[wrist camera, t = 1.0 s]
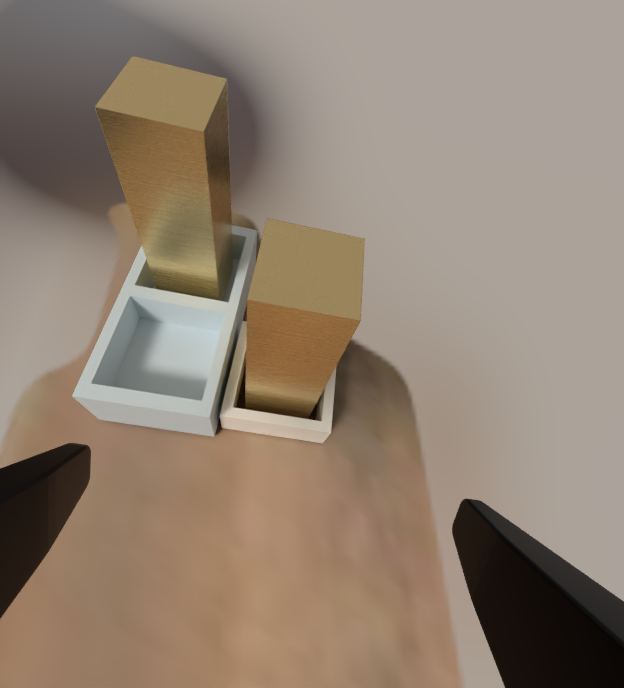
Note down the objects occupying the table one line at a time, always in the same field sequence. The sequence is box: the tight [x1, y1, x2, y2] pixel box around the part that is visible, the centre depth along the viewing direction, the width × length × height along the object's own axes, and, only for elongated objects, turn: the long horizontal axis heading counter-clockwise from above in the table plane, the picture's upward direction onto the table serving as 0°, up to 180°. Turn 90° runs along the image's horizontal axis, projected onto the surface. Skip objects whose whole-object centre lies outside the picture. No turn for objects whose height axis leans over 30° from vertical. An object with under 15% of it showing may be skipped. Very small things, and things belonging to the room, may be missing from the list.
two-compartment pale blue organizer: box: [72, 225, 257, 437], centre depth 23 cm, size 14×7×4 cm, turn 174°
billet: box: [245, 218, 365, 419], centre depth 19 cm, size 4×4×12 cm
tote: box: [220, 321, 336, 443], centre depth 23 cm, size 6×6×2 cm
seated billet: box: [95, 56, 233, 301], centre depth 20 cm, size 4×4×12 cm
